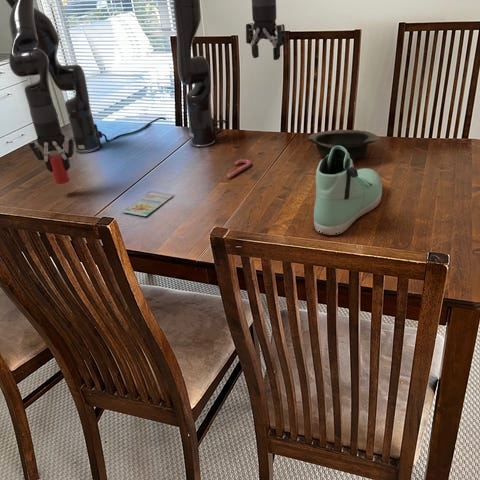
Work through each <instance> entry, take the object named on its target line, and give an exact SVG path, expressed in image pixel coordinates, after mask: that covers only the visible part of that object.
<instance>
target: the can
mask: <svg viewBox="0 0 480 480" xmlns="http://www.w3.org/2000/svg"><path fill="white" fill-rule="evenodd" d="M49 160H50V164H51V167H52V171H53V172H52V174H53V177H54V181H55V183H56V184H57V185H63V184H67V183H69V182H70V175H69V173H68V170H65V166H64V163H63V158H62V156H61V154H59V153H57V154H52V155H50V157H49Z"/></svg>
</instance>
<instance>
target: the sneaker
mask: <svg viewBox="0 0 480 480" xmlns="http://www.w3.org/2000/svg"><path fill="white" fill-rule="evenodd" d="M317 165H318V166H317V168H316V172H315V201H314V207H313V225H314V229H315V231H316V232H318V233H320V234H323V235H326V236H327V235H328V236H336V235H339V234H342V233H344V232H345V231H347V230H348V229H349V228H350V227H351V226H352V225H353V224H354V222H356V221H357V220H358V219H359V218H360V217H362V216H363V215H365V214H367V213H370V212H372V210H374V209H375V208H377V207H378V205H380V203H381V200H382V196H383V184H382V183H383V182H382V179H381V176H380V175H379V173H378V172H377V171H376V170H374V169H372V168H367V167H365V168H358V169H357V168H355V167H354V161H352V159H350V156H349V153H348V152H347V150H346V149H345V148H344V147H342V146H334V147H333V148H332V149H331V152H330V154H329V155H327V156H326V157H323V158H322V159H321V160H320V161H319V163H318V164H317ZM343 230H344V231H343ZM319 231H320V232H319ZM322 232H323V233H322ZM339 232H340V233H339ZM326 233H327V234H326ZM328 233H329V234H328ZM335 233H337V234H335Z"/></svg>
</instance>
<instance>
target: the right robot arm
mask: <svg viewBox="0 0 480 480" xmlns="http://www.w3.org/2000/svg"><path fill="white" fill-rule="evenodd" d="M172 3H173V14H174V21H175V31H176V47H177V48H176V51H177V52H176V53H177V56H176V57H177V61H176V62H177V73H178V77H179V80H180V82H181V84H183V85H184V86H190V85H194V86H193V88H192V89H191V90H189V91H188V92H187V93H186V95H185V99H186V100H185V101H186V108H187V115H188V117H187V118H188V125H189V132H188V133H189V135H188V136H189V137H190V140H191V141H190V144H191V145H192V147H196V148H206V147H210V146H212V145H214V144H215V143H216V141H217V136H216V135H217V134H219V133H220V132H221V128H220V127H218V126H215V125H217V124H218V123H220V122H223V123H227V120H225V119H218V120H216V121H215V118H214V117H213V114H212V103H211V92H212V87H211V72H210V71H211V70H210V65H209V62H208V61H207V58H205V56H203V55H197V56H192V45H193V42H194V40H195V36H196V34H197V32H198V30H199V27H200V24H201V22H202V21H201V19H202V14H201V13H202V11H201V10H202V9H201V0H173V2H172ZM251 13H252V14H251V15H252V21H253V22H250V23H246V24H245V42H246V44H247V45H248V44H249V45H250V46H251V55H252V58H253V59H257V58H259V57H260V53H259V51H260V50H259V42H260V41H261V40H268V41H269V42H270V43H271V45H272V46H273V48H272V53H273V55H272V56H273V60H274V61H278V60H280V58H281V47H282V46H284V45H285V46H286V43H287V42H286V29H285V24H283V23H282V24H277V23H276V22H277V0H251ZM216 130H217V131H216Z"/></svg>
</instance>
